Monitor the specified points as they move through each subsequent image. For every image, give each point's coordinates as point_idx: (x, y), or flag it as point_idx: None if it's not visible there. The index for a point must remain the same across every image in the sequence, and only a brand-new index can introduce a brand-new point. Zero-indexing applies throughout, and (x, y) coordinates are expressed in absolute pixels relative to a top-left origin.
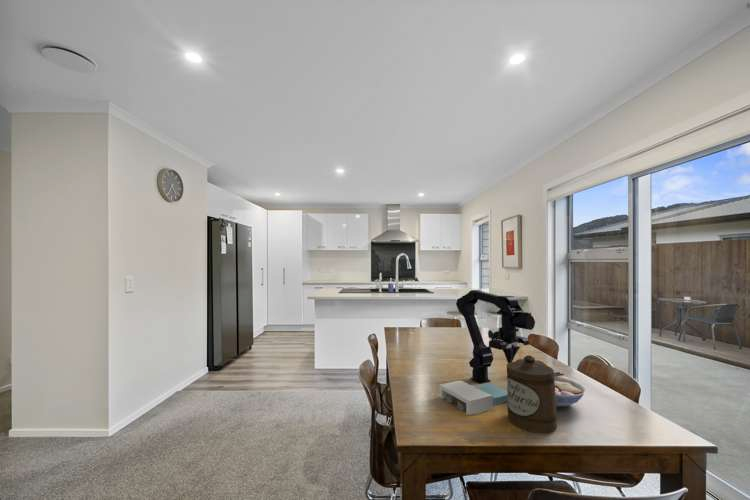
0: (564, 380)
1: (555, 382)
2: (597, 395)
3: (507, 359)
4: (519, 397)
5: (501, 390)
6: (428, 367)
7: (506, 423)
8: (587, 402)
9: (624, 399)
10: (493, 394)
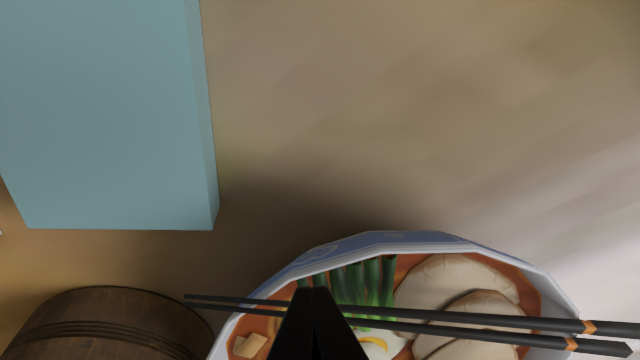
0: (549, 351)
1: (478, 346)
2: (617, 309)
3: (278, 346)
4: None
5: (166, 165)
6: None
7: (4, 324)
8: None
9: None
10: (50, 188)
